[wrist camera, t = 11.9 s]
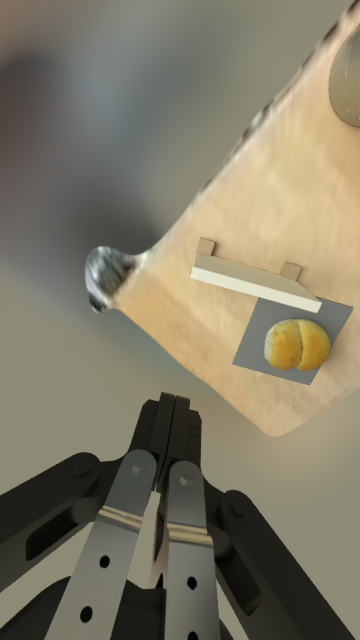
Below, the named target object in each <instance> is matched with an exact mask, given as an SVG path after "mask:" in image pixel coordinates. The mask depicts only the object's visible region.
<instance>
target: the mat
mask: <svg viewBox="0 0 360 640" xmlns="http://www.w3.org/2000/svg"><path fill="white" fill-rule="evenodd" d="M316 298H317V299H318V300H319V301H320V302H322V304H321V306H320V308H319V310H318V312H317V313H314V312H311V311H307V310H304V309H300V308H297V307H293V306H289V305H286V304H282V303H279V302H275V301H272V300H268V299H264V298H261V297H259V299H258V301H257V304H256V306H255V309H254V311H253V314H252V316H251V319H250V321H249V324H248V326H247V329H246V331H245V333H244V336H243V338H242V341H241V343H240V346H239V348H238V351H237V353H236V356H235V358H234V361H233V363H232V364H233V365H237V366H241V367H244V368H248V369H252V370H255V371H259V372H263V373H266V374H270V375H273V376H277V377H281V378H284V379H288V380H292V381H295V382H299V383H303V384H306V385H310V383H311V381H312V380H313V378H314V376H315V374H316V372H317V371H318V369H319V367H320V366H318V367H317V368H315V369H312V370H308V371H303V370H299V369H297V368H296V367H293V368H291V369H288V370H280V369H277V368H275V367H273V366H272V365H271V364H270V363H269V362H268V360H267V359H265V354H264V349H265V339H266V335H267V332H268V331H269V330H270V328H271V327H272V326H273V325H274V324H276V323H278V322H280V321H283V320H287V319H308V320H310V321H313V322H315V323H317V324H318V325H319V326H321V327H322V329H323V330H324V331H325V332H326V334H327V335H328V338H329V340H330V348H331V346H332V344H333V343H334V341H335V339H336V337H337V336H338V334H339V332H340V330H341V329H342V327H343V325H344V323H345V321H346V320H347V318H348V316H349V314H350V313H351V311H352V309H353V307H350V306H346V305H343V304H339V303H335V302H332V301H328V300H325V299H321V298H318V297H316Z"/></svg>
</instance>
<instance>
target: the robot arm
mask: <svg viewBox="0 0 360 640" xmlns="http://www.w3.org/2000/svg"><path fill="white" fill-rule="evenodd" d="M329 95H330V101H331V103H332V106H333V109H334V110H335V112H336V113H337V115H338V116H339V117H340V118H341V119H342V120H343V121H344V122H346V123H348V124H350V125H353V126H358V127H360V24H359V25H358V26H357V27H356V28H355V30H354V31H353V32H352V33H351V34H350V36H349V37H348V38H347V39H346V40H345V42H344V43H343V44H342V46H341V48H340V50H339V51H338V53H337V55H336V57H335V60H334V62H333V65H332V68H331V73H330V78H329ZM189 406H190V399H189V398H185V397H181V396H178V395H176V397H175V395H173V394H169V393H165V392H161V396H160V400H159V402H158V401H154V400H150V399H149V400H148V401H147V402H146V403H145V404H144V405H143V406H142V409H141V413H140V416H139V419H138V422H137V425H136V428H135V432H134V435H133V438H132V441H131V444H130V447H129V450H128V451H127V453H126V454H125V455H124V456H123V457H121V458H119V459H117V460H114V461H104V462H100V460H99V459H98V458H97V457H96V456H95V455H93V454H91V453H86V452H82V453H77V454H75V455H73V456H71V457H69V458H67V459H65V460H64V461H62V462H60V463H58V464H56V465H55V466H53V467H51V468H49V469H47V470H46V471H44V472H42V473H40V474H38V475H37V476H35V477H33V478H31V479H30V480H28V481H26V482H24V483H22V484H20V485H19V486H17V487H15V488H13V489H11V490H9V491H8V492H6V493H4V494H2V495H0V593H1V592H2V591H3V590H4V589H6V588H7V587H8V586H9V585H11V584H12V583H13V582H15V581H16V580H17V579H18V578H20V577H21V576H22V575H24V574H25V573H26V572H27V571H29V570H30V569H31V568H32V567H34V566H35V565H36V564H38V563H39V562H40V561H41V560H43V559H44V558H45V557H47V556H48V555H49V554H51V553H52V552H53V551H54V550H56V549H57V548H58V547H59V546H61V545H62V544H63V543H64V542H66V541H67V540H68V539H70V538H71V537H72V536H74V535H75V534H76V533H77V532H79V531H80V530H81V529H83V528H84V527H85V526H86V525H87V524H88V523H89V522H94V521H95V522H94V524H93V526H92V529H91V531H90V533H89V536H88V538H87V540H86V543H85V545H84V547H83V550H82V552H81V555H80V557H79V559H78V562H77V564H76V566H75V569H74V571H73V573H72V576H69V577H66V578H63V579H61V580H59V581H57V582H55V583H53V584H52V585H50V586H49V587H47V588H46V589H44V590H43V591H41V592H40V593H39V594H38V595H37V596H36V597H35V598H34V599H32V600H31V601H30V602H29V603H28V604H27V605H26V606H25V607H24V608H23V609H21V610H20V611H19V612H18V613H17V614H16V615H15V616H14V617H13V618H11V619H10V620H9V621H8V622H7V623H6V624H5V625H4V626H3V627H2V628H0V640H233V638H232V636H231V634H230V633H229V631H228V629H227V628H226V626H225V625H224V624H223V622H222V621H221V620H220V618H219V612H218V600H217V587H216V579H217V581H218V583H219V584H220V586H221V588H222V590H223V592H224V594H225V596H226V597H227V599H228V601H229V603H230V605H231V606H232V609H233V610H234V612H235V614H236V616H237V618H238V620H239V622H240V623H241V625H242V627H243V629H244V631H245V633H246V635H247V637H248V638H249V640H355V638H354V637H353V636H352V634H351V633H350V632H349V630H348V629H347V628H346V626H345V625H344V624H343V622H342V621H341V620H340V618H339V617H338V616H337V614H336V613H335V612H334V610H333V609H332V608H331V606H330V605H329V604H328V602H327V601H326V600H325V599H324V597H323V596H322V595H321V593H320V592H319V590H318V589H317V588H316V586H315V585H314V584H313V582H312V581H311V580H310V578H309V577H308V576H307V574H306V573H305V572H304V571H303V569H302V568H301V566H300V565H299V564H298V562H297V561H296V560H295V558H294V557H293V556H292V555H291V553H290V552H289V550H288V549H287V548H286V546H285V545H284V544H283V542H282V541H281V540H280V539H279V537H278V536H277V534H276V533H275V532H274V530H273V529H272V528H271V526H270V525H269V524H268V522H267V521H266V520H265V518H264V517H263V516H262V514H261V513H260V512H259V510H258V509H257V508H256V506H255V505H254V504H253V502H252V501H251V500H250V499H249V498H248V497H247V496H246V495H245V494H244V493H242V492H240V491H237V490H229V491H227V492H225V493H223V492H222V491H220V490H218V489H217V488H215V487H213V486H212V485H211V484H209V483H208V481H207V480H206V479H205V478H204V476H203V474H202V472H201V466H200V460H201V424H202V420H201V418H200V415H199V413H198V411H194V410H190V409H189ZM156 484H157V487H156ZM155 487H156V492H158V493H161V496H160V503H159V506H158V509H157V513H156V523H155V533H154V544H153V555H152V565H151V572H150V578H149V582H148V589H142V588H140V587H138V586H137V585H135V584H133V583H132V582H130V581H129V580H127V575H128V571H129V567H130V564H131V561H132V557H133V553H134V550H135V546H136V542H137V538H138V535H139V531H140V528H141V523H142V520H143V516H144V512H145V509H146V507H147V504H148V501H149V497H150V494H151V491H154V490H155Z"/></svg>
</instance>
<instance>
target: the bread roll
mask: <svg viewBox="0 0 360 640" xmlns="http://www.w3.org/2000/svg"><path fill="white" fill-rule="evenodd" d="M329 351H330V340H329V338H328V335H327V334H326V332H325V331H324V330H323V329H322V327H321V326H319V325H318V324H317V323H315V322H313V321H310V320H308V319H287V320H283V321H280V322H278V323H276V324H274V325H273V326H272V327H271V328H270V330H269V331H268V332H267V335H266V339H265V349H264V354H265V359H267V360H268V362H269V363H270V364H271V365H272V366H273V367H275V368H277V369H280V370H288V369H291V368H293V367H296V368H297V369H299V370H303V371H308V370H312V369H315V368H317V367H318V366H320V365H321V364H322V363H323V362H324V361H325V359H326V358H327V356H328V354H329Z"/></svg>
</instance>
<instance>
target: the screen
mask: <svg viewBox="0 0 360 640" xmlns="http://www.w3.org/2000/svg"><path fill="white" fill-rule="evenodd" d="M214 243H215V242H214V241H211V240H208V239H204V238H201V237H200V240H199V243H198V247H197V251H196V254H195V258H194V261H193V265H192V268H191V272H190V278H193V279H196V280H200V281H203V282H207V283H211V284H214V285H218V286H221V287H225V288H229V289H232V290H236V291H239V292H243V293H246V294H250V295H254V296H257V297H261V298H264V299H268V300H272V301H275V302H279V303H282V304H286V305H289V306H293V307H297V308H300V309H304V310H307V311H311V312H314V313H317V312H318V310H319V308H320V306H321V304H322V302H320V301H319V300H318V299H317V298H316V297H315V296H313V295H312V294H311V293H310V292H309V291H307V290H306V289H305V288H304V287H303V286H302V285H300V284H299V283H298V282H297V281H296V279H297V277H298V275H299V272H300V270H301V268H302V267H301V266H299V265H296V264H292V263H289V262H285V264H284V266H283V268H282V271H281V273H280V275H279V274H275V273H272V272H268V271H264V270H261V269H257V268H254V267H250V266H247V265H243V264H240V263H236V262H233V261H229V260H225V259H222V258H218V257H215V256H211V253H212V250H213V246H214Z"/></svg>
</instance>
